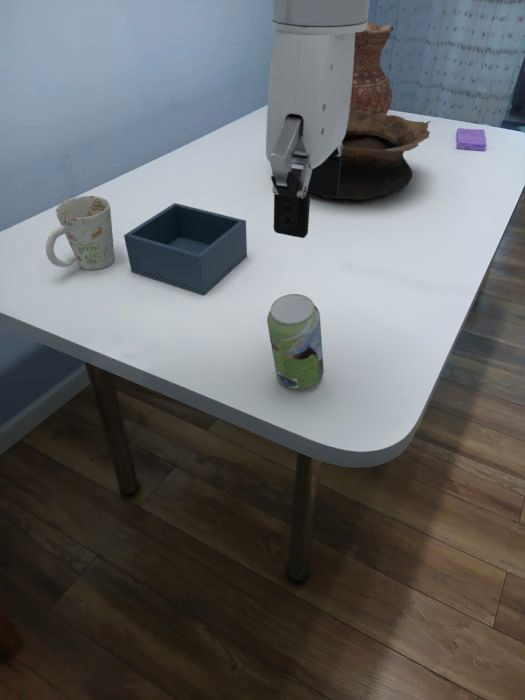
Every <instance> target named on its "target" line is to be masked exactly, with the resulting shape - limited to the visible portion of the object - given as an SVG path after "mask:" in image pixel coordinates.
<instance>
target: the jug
mask: <svg viewBox="0 0 525 700" xmlns="http://www.w3.org/2000/svg"><path fill="white" fill-rule="evenodd" d="M393 31H394V26H393V25H391V24H384V25H378V24H376V23H374V22H371V21H368V22H367V29H366V30H365V31H362V32H356V33H355V47H354V48H355V52H354V65H353V79H352V90H351V101H350V108H353V109H354V110H363V111H364V112H365V113H367V114H368V115H369V116H375V115H378V114H381V113H384V114H386V115H388V112H389V110H390V108H391V105H392V102H393V92H392V87H391V85H390V82H389V80H388V77H387V76H386V74H385V72H384V71H383V68H382V67H381V57H382V52H383V49H384V47H385V45H386V44H387V42H388V40H389V38H390V36H391V34H392V32H393Z"/></svg>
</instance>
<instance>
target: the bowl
mask: <svg viewBox="0 0 525 700" xmlns="http://www.w3.org/2000/svg"><path fill="white" fill-rule="evenodd" d="M431 122H432V121H431V120H429V121H427V122H423V121H415V120H409V119H405V118H404V117H402V116H400V115H399V116H398V115H393V114H384V113H381V114H378V115H375V116H369V115H368V114H367V113H365V112H364V111H363V110H354V109H353V108H350V111H349V118H348V125H347V130H346V134H345V137H344V139H343V140H342V145H343V148H342V153H341V156H336V157H340V158H341V168H340V178H339V188H338V193H337V195H336V196H335V197H331V196H325V195H319V194H317V195H319V196H322V197H324V198H327V199H338V200H339V199H340V200H341V199H342V200H344V199H345V200H346V199H347V200H369V199H373V198H377V197H380V196H384V195H386V194H387V195H388V194H390V193H392V192H397V191H399V190H400V189H403V188H405V187H406V186H408V184H410V182H411V180H412V179H413V178H412V177H413V170H412V168H411V166H410V165H409V164H408V162H407V160H406V159H405V158H404V153H405V152H408V151H411V150H413V149H415V148H417V147H419V146H420V145H419V143H422V142H423V141H425V140H427V139H429V138H430V133H431V132H430V131H429V130H428V129H429V124H430V123H431ZM292 157H299V158H306V159H307V156H304V155H297V154H293V156H292ZM291 172H295V174H296V176H297V178H298V180H300V177H301V173H302V169H296V168H291ZM307 192H308V193H310V192H309V191H308V189H307Z"/></svg>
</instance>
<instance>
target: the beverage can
mask: <svg viewBox="0 0 525 700" xmlns="http://www.w3.org/2000/svg"><path fill="white" fill-rule="evenodd" d="M266 322H267V329H268V334H269V341H270V344H271V351H272V357H273V363H274V370H275V375H276V377H277V380H278V381H279V382H280V383H281V384H282V385H283V386H284V387H285V388H288V389H292V390H293V389H294V390H304V389H308V388H311V387H313V386H315V385H317V383H319V381H321V379H322V377H323V375H324V371H325V370H324V369H325V368H324V356H323V339H322V327H321V325H322V324H321V314H320V311H319V309H318V307H317V306H316V305H315V303H314V302H313V301H312V299H311V298H310V297H308V296H306V295H304V294H299V293H290V294H285V295H282V296H280V297H278V298H277V299H276V300H275V301H274V302H272V304H271V305H270V310H269V312H268V313H267V318H266Z"/></svg>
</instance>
